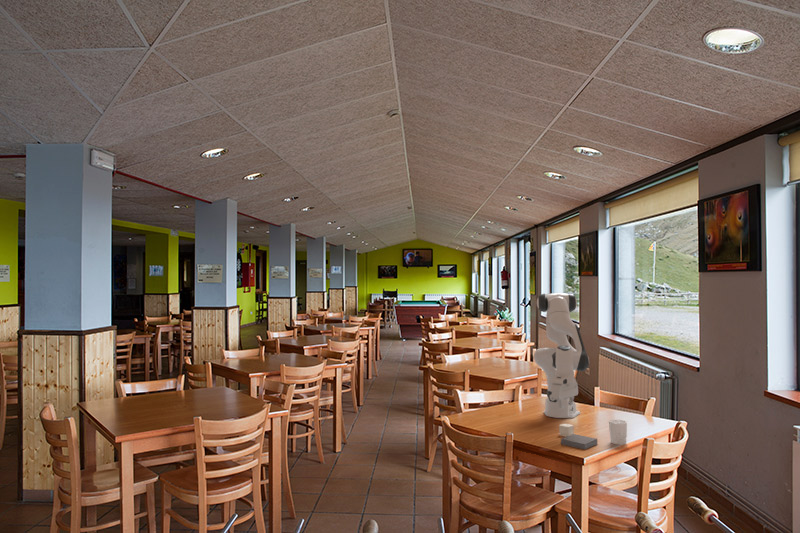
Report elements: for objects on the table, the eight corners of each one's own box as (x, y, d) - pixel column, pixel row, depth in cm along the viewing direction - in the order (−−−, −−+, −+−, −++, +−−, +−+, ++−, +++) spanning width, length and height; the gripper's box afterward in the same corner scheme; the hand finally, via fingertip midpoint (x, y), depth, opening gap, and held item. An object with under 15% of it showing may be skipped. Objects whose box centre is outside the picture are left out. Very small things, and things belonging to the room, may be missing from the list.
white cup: (622, 440, 248) (622, 419, 248) (630, 445, 240) (629, 423, 241) (606, 440, 248) (606, 419, 248) (614, 445, 240) (613, 423, 240)
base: (573, 439, 251) (573, 433, 251) (597, 444, 242) (597, 438, 242) (561, 444, 243) (560, 438, 243) (585, 449, 234) (584, 444, 234)
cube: (564, 433, 261) (564, 423, 262) (573, 435, 258) (573, 425, 258) (559, 435, 258) (559, 425, 258) (568, 437, 254) (568, 427, 255)
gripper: (569, 375, 269) (570, 402, 268) (548, 380, 255) (549, 408, 254) (581, 377, 264) (581, 404, 263) (560, 381, 250) (561, 410, 249)
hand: (565, 406), depth 258 cm, fingers open, 8 cm apart
